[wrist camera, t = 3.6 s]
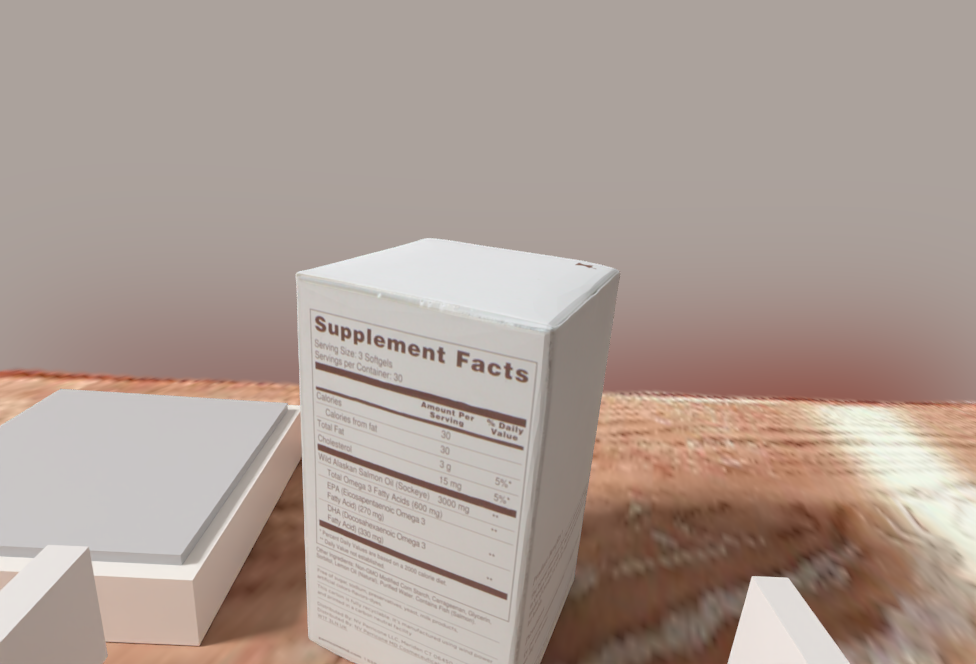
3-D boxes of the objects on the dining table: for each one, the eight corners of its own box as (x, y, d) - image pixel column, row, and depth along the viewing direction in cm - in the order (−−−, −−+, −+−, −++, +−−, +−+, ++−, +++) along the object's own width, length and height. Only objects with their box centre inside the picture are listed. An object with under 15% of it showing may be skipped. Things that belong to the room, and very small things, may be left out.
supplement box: (415, 521, 25) (429, 233, 21) (578, 581, 23) (629, 264, 19) (298, 644, 19) (285, 265, 15) (507, 750, 16) (561, 321, 12)
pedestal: (304, 451, 30) (303, 398, 29) (199, 645, 18) (191, 569, 18) (66, 437, 29) (56, 383, 28) (-194, 628, 18) (-225, 549, 17)
